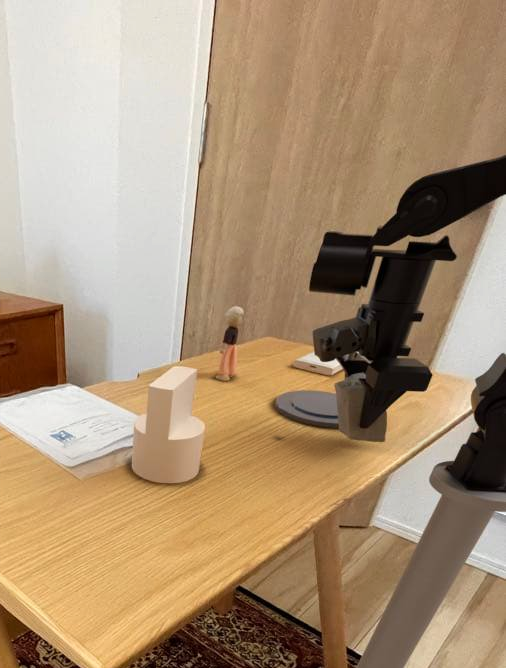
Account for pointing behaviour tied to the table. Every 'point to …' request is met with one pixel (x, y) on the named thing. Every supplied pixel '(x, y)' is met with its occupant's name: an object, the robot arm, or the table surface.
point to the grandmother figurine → (230, 344)
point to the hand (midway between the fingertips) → (355, 419)
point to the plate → (309, 407)
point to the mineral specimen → (356, 411)
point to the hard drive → (317, 364)
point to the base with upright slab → (169, 430)
